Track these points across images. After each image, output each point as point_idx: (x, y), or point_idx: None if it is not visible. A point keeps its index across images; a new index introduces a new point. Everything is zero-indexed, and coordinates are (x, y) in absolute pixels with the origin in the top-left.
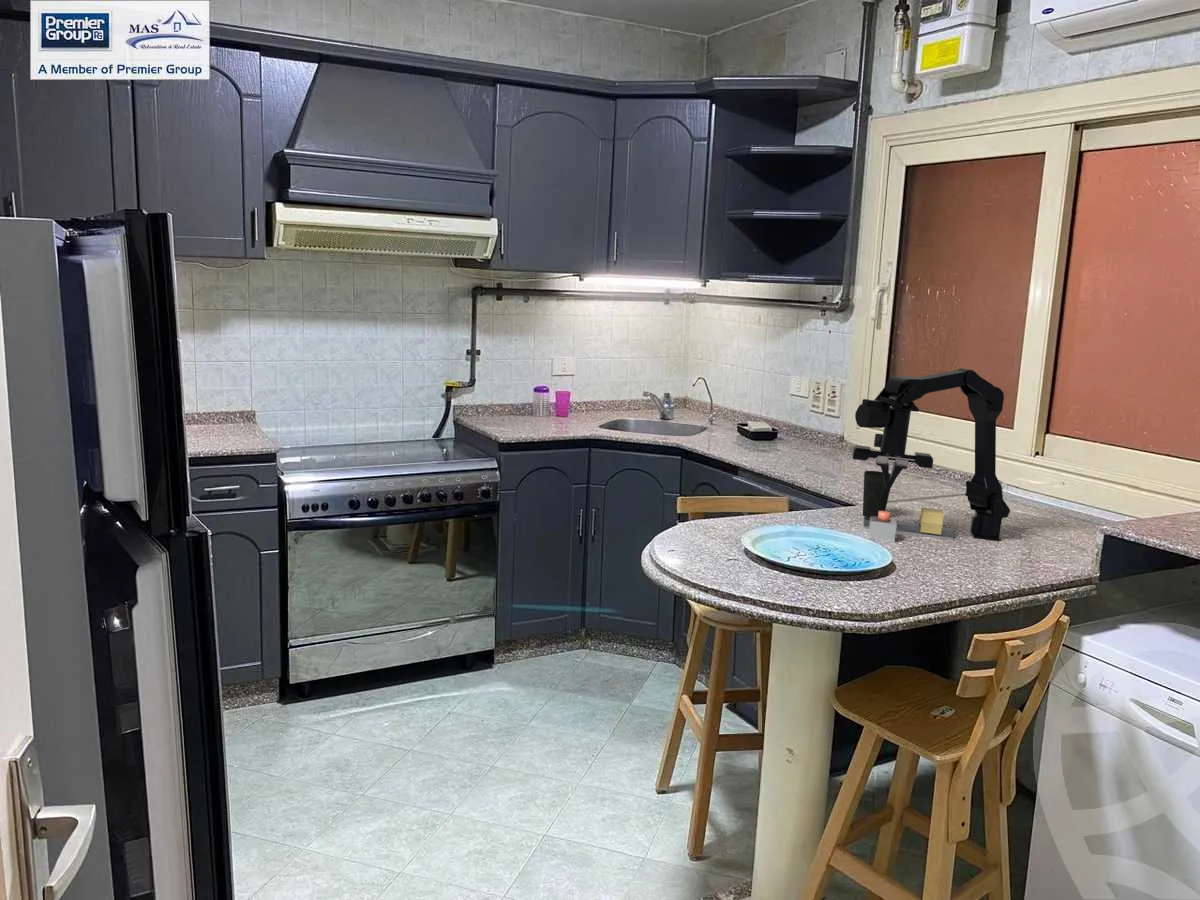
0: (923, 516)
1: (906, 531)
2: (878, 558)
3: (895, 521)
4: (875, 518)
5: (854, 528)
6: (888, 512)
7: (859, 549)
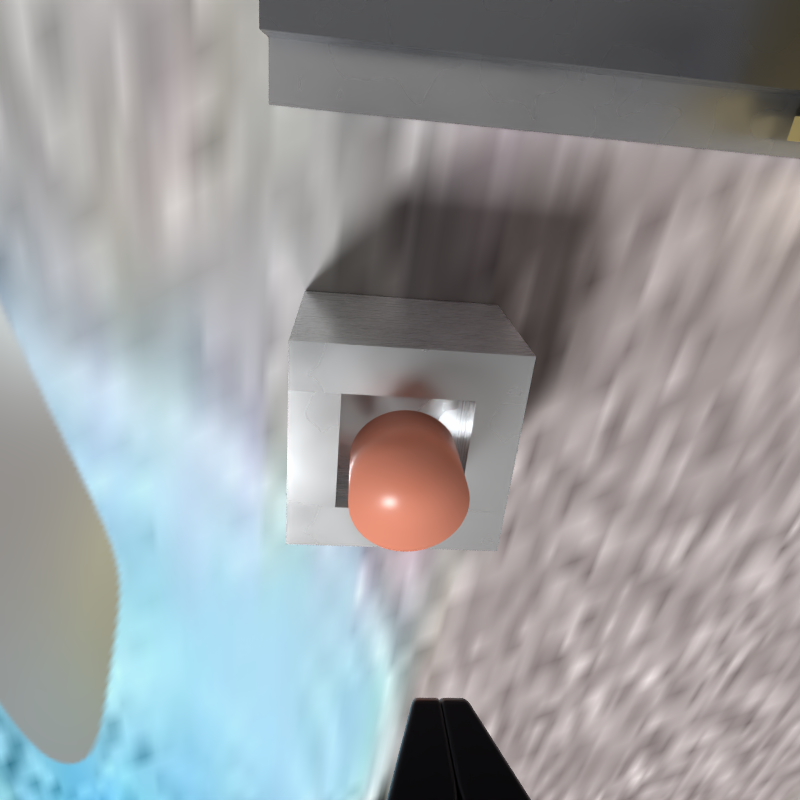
0: None
1: (664, 124)
2: (324, 781)
3: (513, 451)
4: (332, 426)
5: (186, 160)
6: (449, 503)
7: (233, 694)
